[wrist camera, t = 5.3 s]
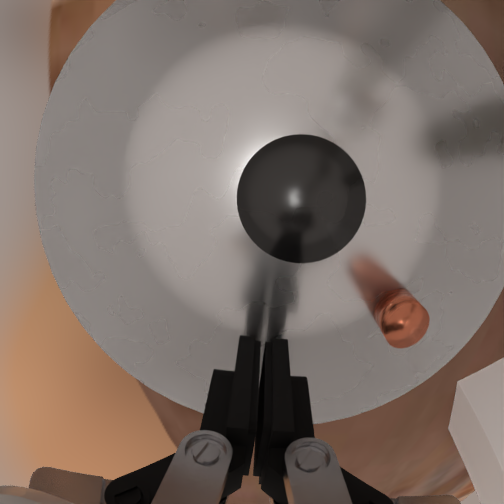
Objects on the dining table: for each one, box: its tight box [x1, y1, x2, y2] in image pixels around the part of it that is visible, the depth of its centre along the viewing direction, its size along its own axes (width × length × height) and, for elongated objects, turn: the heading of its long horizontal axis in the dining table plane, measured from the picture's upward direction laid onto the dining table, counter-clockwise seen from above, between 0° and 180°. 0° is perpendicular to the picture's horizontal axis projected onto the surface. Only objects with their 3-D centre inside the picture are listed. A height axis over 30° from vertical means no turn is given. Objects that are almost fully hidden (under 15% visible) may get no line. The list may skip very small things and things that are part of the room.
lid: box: [34, 0, 504, 424], centre depth 8 cm, size 19×20×3 cm
